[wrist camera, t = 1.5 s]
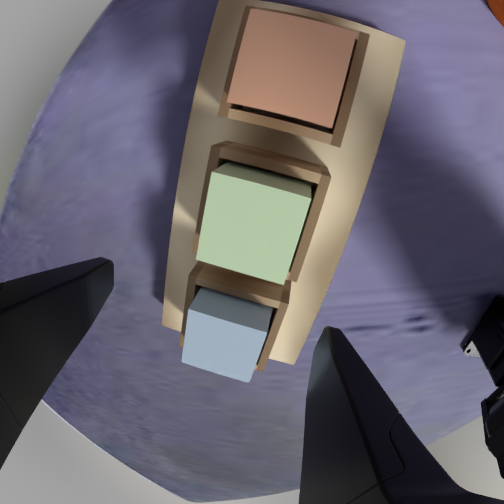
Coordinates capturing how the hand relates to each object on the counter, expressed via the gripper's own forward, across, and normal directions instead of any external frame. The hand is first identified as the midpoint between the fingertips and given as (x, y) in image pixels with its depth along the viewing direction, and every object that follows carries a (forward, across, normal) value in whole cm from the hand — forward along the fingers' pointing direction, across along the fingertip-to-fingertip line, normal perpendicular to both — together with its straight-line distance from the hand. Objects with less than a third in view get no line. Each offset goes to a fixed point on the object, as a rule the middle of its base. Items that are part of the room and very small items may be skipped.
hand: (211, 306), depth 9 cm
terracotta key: (+9, 0, -8) cm, 12 cm away
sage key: (+9, 0, 0) cm, 9 cm away
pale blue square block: (+9, 0, +8) cm, 12 cm away
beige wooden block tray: (+13, 0, 0) cm, 13 cm away
